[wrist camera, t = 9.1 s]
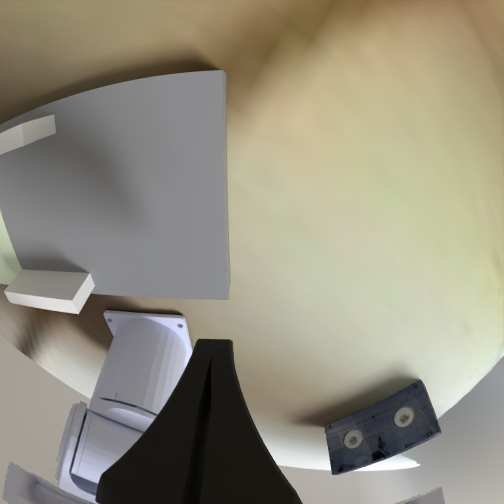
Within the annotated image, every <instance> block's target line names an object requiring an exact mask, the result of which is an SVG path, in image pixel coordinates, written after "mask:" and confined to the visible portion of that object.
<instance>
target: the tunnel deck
mask: <svg viewBox="0 0 504 504" xmlns="http://www.w3.org/2000/svg"><path fill="white" fill-rule="evenodd" d="M226 95H227V74H226V73H225V72H224V71H223V70H214V71H198V72H186V73H177V74H168V75H161V76H154V77H148V78H142V79H136V80H131V81H126V82H121V83H117V84H112V85H108V86H104V87H100V88H96V89H92V90H89V91H85V92H82V93H78V94H75V95H72V96H69V97H66V98H63V99H60V100H57V101H54V102H51V103H49V104H46V105H43V106H41V107H38V108H36V109H33V110H31V111H28V112H26V113H24V114H21V115H19V116H17V117H15V118H13V119H10V120H8V121H6V122H4V123H2V124H0V246H1V248H2V249H1V250H0V284H6V285H8V287H7V288H6V289H5V291H4V292H5V294H6V296H7V298H8V300H9V302H10V303H14V304H19V305H24V306H30V307H35V308H41V309H47V310H54V311H60V312H67V313H74V314H79V312H80V311H81V309H82V307H83V305H84V304H85V302H86V300H87V298H88V297H89V295H90V294H103V295H117V296H133V297H153V298H177V299H217V300H228V299H229V286H230V261H229V231H228V193H227V113H226Z"/></svg>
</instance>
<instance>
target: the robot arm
mask: <svg viewBox="0 0 504 504" xmlns="http://www.w3.org/2000/svg"><path fill="white" fill-rule="evenodd" d="M103 315H104V317H105V320H106V322H107V324H108V326H109V328H110V330H111V332H112V334H113V336H114V338H113V341H112V343H111V346H110V348H109V351H108V353H107V356H106V359H105V361H104V364H103V367H102V370H101V372H100V375H99V378H98V381H97V384H96V387H95V390H94V393H93V396H92V398H91V400H90V402H89V404H88V407H87V408H86V406H87V404H86V403H84V402H81V401H80V402H79V404H78V403H77V404H74V405H73V406H72V408H71V411H70V413H69V417H68V419H67V423H66V426H65V430H64V432H63V436H62V440H61V443H60V447H59V452H58V456H57V462H58V465H57V470H56V475H55V478H56V479H57V480H58V483H57V486H58V487H59V488H58V487H56V486H55V485H54V484H52V483H51V482H49V481H47V480H45V479H43V478H41V477H39V476H37V475H35V474H33V473H30V472H28V471H26V470H25V469H23V468H21V467H20V466H18V465H16V464H14V463H12V462H10V463H9V466H8V471H7V475H6V480H5V485H4V491H3V496H2V498H3V500H5V501H6V502H7V503H9V504H303V503H302V502H301V500H300V498H299V496H298V494H297V492H296V491H295V489H294V488H293V487H292V486H291V484H290V483H289V482H288V480H287V479H286V478H285V476H284V475H283V473H282V472H281V470H280V469H279V467H278V466H277V464H276V463H275V461H274V459H273V458H272V456H271V454H270V453H269V451H268V449H267V447H266V446H265V444H264V442H263V440H262V438H261V436H260V434H259V432H258V430H257V428H256V426H255V424H254V422H253V420H252V417H251V415H250V413H249V410H248V408H247V405H246V403H245V400H244V397H243V394H242V391H241V388H240V385H239V381H238V378H237V374H236V370H235V364H234V353H233V341H231V340H230V339H198V340H197V342H196V345H195V347H194V350H192V346H191V342H190V338H189V333H188V329H187V324H186V320H185V318H184V317H183V316H181V315H166V314H149V313H135V312H122V311H111V310H106V311H105V312H104V314H103ZM180 324H182V325H180ZM396 504H445V500H444V495H443V491H442V487H439V488H436V489H434V490H431V491H429V492H427V493H424V494H420V495H417V496H414V497H411V498H409V499H406V500H404V501H401V502H398V503H396Z"/></svg>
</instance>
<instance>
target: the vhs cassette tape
mask: <svg viewBox="0 0 504 504" xmlns="http://www.w3.org/2000/svg"><path fill="white" fill-rule="evenodd" d="M325 433H326V439H327V445H328V450H329V457H330V464H331V471H332V475H339V474H342V473H345V472H349V471H353V470H356V469H359V468H362V467H365V466H368V465H371V464H373V463H376V462H379V461H382V460H385V459H387V458H390V457H392V456H395V455H397V454H399V453H402V452H404V451H407V450H409V449H411V448H413V447H415V446H417V445H419V444H421V443H423V442H426V441H428V440H429V439H431V438H433V437H435V436H437V435H439V434H441V429H440V426H439V423H438V421H437V417H436V414H435V411H434V408H433V406H432V403H431V401H430V398H429V396H428V393H427V390H426V387H425V385H424V384H423V382H422V381H421V380H419V381H418V382H416V383H414V384H413V385H411V386H409V387H407V388H405V389H404V390H402V391H400V392H398V393H396V394H394V395H392V396H391V397H389V398H387V399H385V400H383V401H381V402H379V403H377V404H375V405H372V406H370V407H368V408H366V409H364V410H362V411H359V412H357V413H355V414H353V415H350V416H348V417H345V418H343V419H341V420H338V421H336V422H333V423H331V424H328V425H325Z"/></svg>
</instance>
